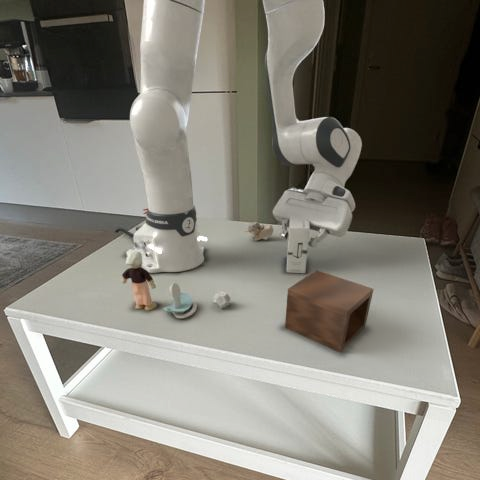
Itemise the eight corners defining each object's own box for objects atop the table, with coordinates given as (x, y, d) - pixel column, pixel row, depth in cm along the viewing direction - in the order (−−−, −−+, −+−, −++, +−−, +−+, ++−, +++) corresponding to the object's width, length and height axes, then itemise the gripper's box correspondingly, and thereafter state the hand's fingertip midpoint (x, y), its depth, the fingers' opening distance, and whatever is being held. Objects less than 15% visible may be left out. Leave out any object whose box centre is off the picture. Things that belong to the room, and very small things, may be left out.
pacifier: (202, 305, 79) (177, 300, 81) (201, 280, 75) (175, 274, 77) (186, 323, 73) (160, 317, 75) (184, 297, 70) (157, 291, 71)
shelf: (284, 327, 72) (287, 288, 67) (312, 307, 78) (316, 269, 73) (340, 352, 65) (347, 311, 60) (365, 328, 71) (373, 288, 66)
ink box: (286, 258, 98) (289, 215, 92) (305, 259, 98) (309, 215, 91) (285, 272, 91) (288, 227, 85) (306, 273, 91) (310, 227, 84)
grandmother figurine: (163, 302, 80) (155, 248, 73) (158, 311, 77) (149, 255, 70) (129, 300, 81) (118, 246, 74) (123, 310, 78) (110, 254, 70)
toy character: (251, 242, 113) (243, 224, 111) (275, 233, 110) (268, 215, 108) (249, 247, 110) (241, 229, 107) (273, 238, 107) (266, 220, 104)
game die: (218, 300, 81) (217, 288, 79) (233, 303, 79) (233, 291, 77) (210, 308, 78) (209, 295, 76) (226, 311, 77) (225, 299, 75)
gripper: (282, 179, 94) (258, 226, 94) (356, 193, 83) (329, 246, 83) (291, 193, 100) (268, 238, 99) (361, 208, 89) (336, 258, 88)
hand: (296, 242), depth 91 cm, fingers closed on ink box, 7 cm apart
